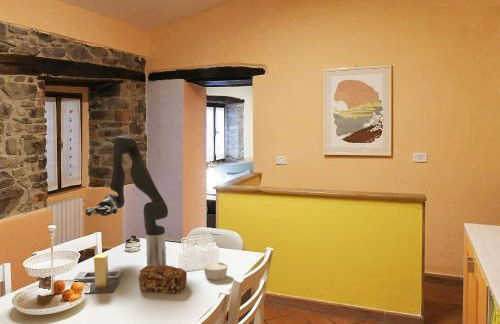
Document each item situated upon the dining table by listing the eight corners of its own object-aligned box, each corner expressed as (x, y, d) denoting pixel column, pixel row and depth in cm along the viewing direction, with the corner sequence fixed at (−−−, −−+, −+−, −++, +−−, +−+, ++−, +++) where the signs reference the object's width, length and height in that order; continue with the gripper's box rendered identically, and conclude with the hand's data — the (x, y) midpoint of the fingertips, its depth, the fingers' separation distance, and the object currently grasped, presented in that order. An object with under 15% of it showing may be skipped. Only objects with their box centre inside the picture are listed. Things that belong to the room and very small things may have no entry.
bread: (138, 292, 186) (137, 269, 185) (148, 283, 196) (148, 261, 196) (179, 295, 182) (178, 272, 182) (187, 285, 193) (187, 264, 192)
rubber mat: (119, 282, 197) (119, 281, 197) (112, 292, 185) (112, 291, 185) (92, 283, 196) (92, 282, 196) (84, 293, 184) (84, 292, 184)
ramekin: (232, 276, 204) (232, 265, 203) (215, 283, 195) (214, 271, 195) (216, 271, 211) (216, 260, 211) (199, 277, 203) (198, 266, 202)
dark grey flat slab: (122, 273, 208) (122, 270, 208) (118, 280, 200) (118, 277, 199) (80, 275, 207) (79, 272, 207) (73, 282, 198) (73, 278, 198)
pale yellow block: (108, 284, 193) (107, 254, 192) (106, 288, 189) (104, 257, 187) (98, 284, 193) (96, 254, 191) (95, 288, 188) (93, 257, 187)
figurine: (49, 297, 181) (47, 269, 180) (34, 296, 182) (32, 268, 181) (60, 290, 188) (58, 264, 187) (45, 289, 189) (44, 263, 188)
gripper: (92, 199, 219) (82, 206, 203) (120, 199, 220) (113, 205, 204) (92, 214, 219) (82, 221, 203) (121, 213, 220) (113, 221, 204)
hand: (97, 213), depth 203 cm, fingers open, 8 cm apart
